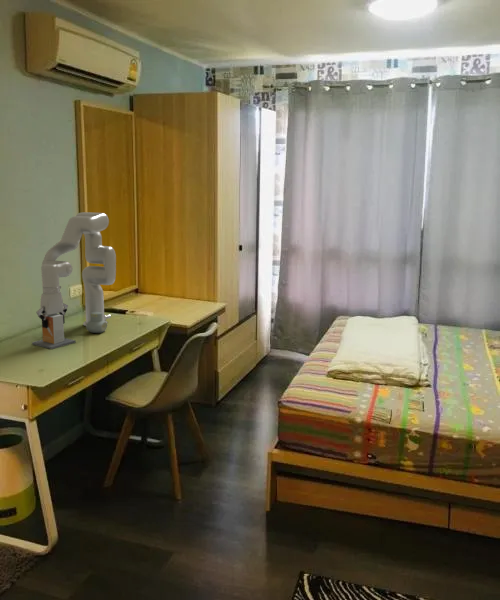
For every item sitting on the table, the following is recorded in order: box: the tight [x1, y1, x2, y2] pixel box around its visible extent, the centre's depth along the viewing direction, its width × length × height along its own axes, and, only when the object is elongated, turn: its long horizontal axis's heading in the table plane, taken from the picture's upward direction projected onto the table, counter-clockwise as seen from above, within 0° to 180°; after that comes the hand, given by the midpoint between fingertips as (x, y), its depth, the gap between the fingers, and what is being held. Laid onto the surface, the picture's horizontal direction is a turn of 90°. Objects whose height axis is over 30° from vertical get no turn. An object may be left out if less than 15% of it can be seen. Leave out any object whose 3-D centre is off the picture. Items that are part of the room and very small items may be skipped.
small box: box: [41, 313, 65, 344], centre depth 281 cm, size 8×6×13 cm
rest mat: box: [31, 337, 77, 350], centre depth 283 cm, size 14×14×1 cm
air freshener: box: [85, 312, 108, 334], centre depth 304 cm, size 11×8×10 cm
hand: (53, 325), depth 282 cm, fingers open, 9 cm apart
